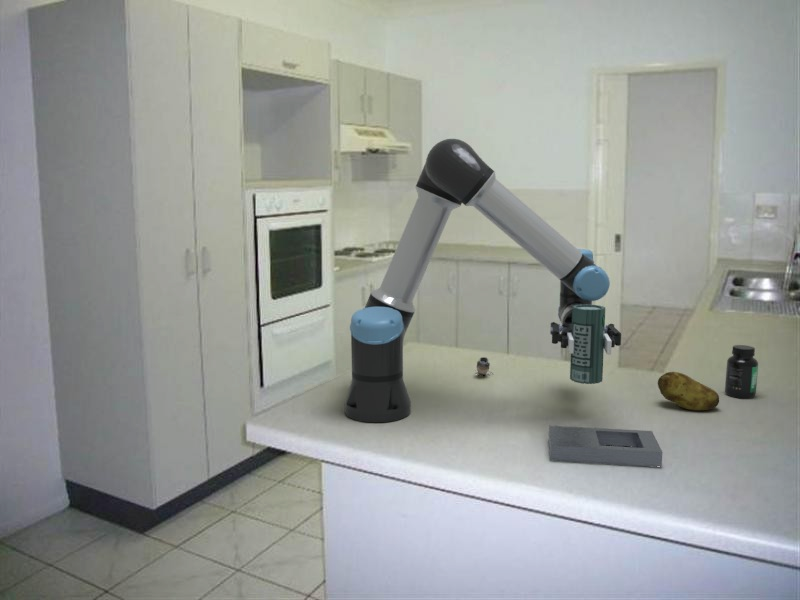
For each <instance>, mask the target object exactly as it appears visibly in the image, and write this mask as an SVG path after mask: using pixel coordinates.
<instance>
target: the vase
mask: <svg viewBox="0 0 800 600" xmlns="http://www.w3.org/2000/svg"><path fill="white" fill-rule="evenodd" d="M482 356H483V355H482ZM490 365H491V364H490V362H489V358H488V357H480V358H479V360H478V361H477V362H476V369H475V370H474V372H475V371H476V372H475V373H474V372H473V373H474V375H475V374H477V375H476V376H478V375H482V376H481V377H484V376H483V375H488V376H491V375H493V376H494V372H493V371H489V370H490Z"/></svg>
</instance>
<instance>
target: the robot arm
mask: <svg viewBox="0 0 800 600" xmlns="http://www.w3.org/2000/svg"><path fill="white" fill-rule="evenodd" d="M425 160H426V161H425V164H424V165H423V167H422V170H421V173H420V175H419V176H418V180H417V182H416V185H415V190H416V192H417V199H416V201H415V203H414V206H413V208H412V210H411V213H410V215H409V217H408V220H407V222H406V225H405V227H404V230H403V232H402V234H401V237H400V239H399V241H398V244H397V246H396V249H395V251H394V253H393V255H392V258H391V261H390V263H389V265H388V268H387V270H386V272H385V275H384V277H383V279H382V281H381V284H380V287H379V288H375V289H373V290H372V291H371V292H370V295H369V297H368V299H367V300H366V301H367V302H366V304H365V306H364V307H363V308H362V309H359V310H356V311H355V312H354V313H353V314H352V316H351V318H350V325H349V330H350V337H351V339H350V340H351V342H350V344H351V345H350V346H351V349H350V350H351V380H350V381H351V382H350V385H349V388H348V391H347V395H346V397H345V398H346V399H345V402H344V414H345V415H346V416H347V417H348V418H350V419H352V420H355V421H358V422H364V423H388V422H394V421H399V420H401V419H404V418H406V417H408V416H409V415H410V414H411V412H412V404H411V403H412V402H411V399H410V396H409V393H408V390H407V387H406V384H405V381H404V354H403V353H404V350H403V349H404V340H405V335H406V333H407V330H408V329H409V326H410V323H411V321H412V319H413V317H414V314H415V312H416V308H415V305H414V303H413V301H414V298H415V296H416V294H417V292H418V289H419V287H420V285H421V284H422V283H421V282H422V280H423V278H424V276H425V273H426V272H427V269H428V267H429V264H430V262H431V259H432V257H433V255H434V252H435V250H436V248H437V245H438V243H439V240H440V238H441V236H442V233H443V231H444V229H445V227H446V224H447V222H448V220H449V218H450V215H451V212H452V211H453V210H455V209H458V208H460V207H461V206H462V205H464V206H466V207H470V206H471V207H473V208H474V209H476V210H477V211H478V212H480V213H481V215H483V216H484V217H485V218H486V219H487V220H489V221H490V222H492V224H494V225H495V227H497V228H498V229H500V230H501V231H502V232H503V233H504V234H505V235H507V237H509V238H510V239H511V240H513V242H515V243H516V244H517V245H519V247H520V248H522V249H523V250H524V251H525V252H527V253H528V254H529V255H530V256H531V257H532V258H533V259H534V260H536V261H537V262H538V263H539V264H540V265H542V266H543V267H545V268H546V270H548V271H549V272H550V273H552V275H554V276H555V277H556V278H557V279H559V280H560V281H559V287H560V288H559V306H558V309H557V310H558V314H557V315H558V316H557V317H558V319H559V321H560V322H561V324H560V323H557V322H555V321H553V322H550V332H549V333H550V335H551V343H552V344H554V345H556V344H558V343H560V348H561V349H568V352H569V354H571V353H573V350H574V339H573V336H572V307H573V306H575V305H581V304H582V305H584V304H585V305H586V304H588V305H593V302H596V301H598V300H601V299H602V298H604V297H605V296H606V294H607V293H608V291H609V289H610V286H611V285H610V284H611V283H610V282H611V281H610V277H609V275H608V274H607V272H606V271H605V270H604V269H603V268H602V267H600V266H599V265H596V264H595V261H594V253H593V251H592V250H590V249H584V248H582V249H581V248H576V246H574V245H573V244H572V243H571V242H570V240H568V239H566V238H565V237H564V236H563V235H561V234H560V232H558V231H557V230H556V229H554V227H552V226H551V225H550V224H549V223H548V222H546V221H545V220H544V219H543V218H542V217H541V216H539V214H537V213H536V212H535V211H534V210H532V208H531V207H529V206H528V205H527V204H526V203H525V202H524V201H522V200H521V199H520V198H519V197H518V196H517V195H515V194H514V193H513V192H512V191H510V190H509V188H507V187H506V186H505V185H504V184H502V183H501V182H500V181H499V180H498V179H497V178H496V171H495V170H493V168H491V167H490V166H489V165H488V164H487V163H486V162H485V161H484V160H483V159H482V158H481V157H480V156H479V154H478V153H477V152H476V151H475V150H474V148H472V146H471V145H470V144H468V143H467V141H463V140H461V139H458V138H447V139H442V140H440V141H439V142H437V143H435V144H434V145H433V147H431V149H430V150H429V152H428V154H427V156H426V159H425ZM621 345H622V332H620V330H618V329H617V328H616V327H615V324H613V323H610V324H609V323H608V324H605V330H604V351H605V353H606V355H612V348H615V346H616V347H617V346H618V347H619V346H621Z"/></svg>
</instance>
